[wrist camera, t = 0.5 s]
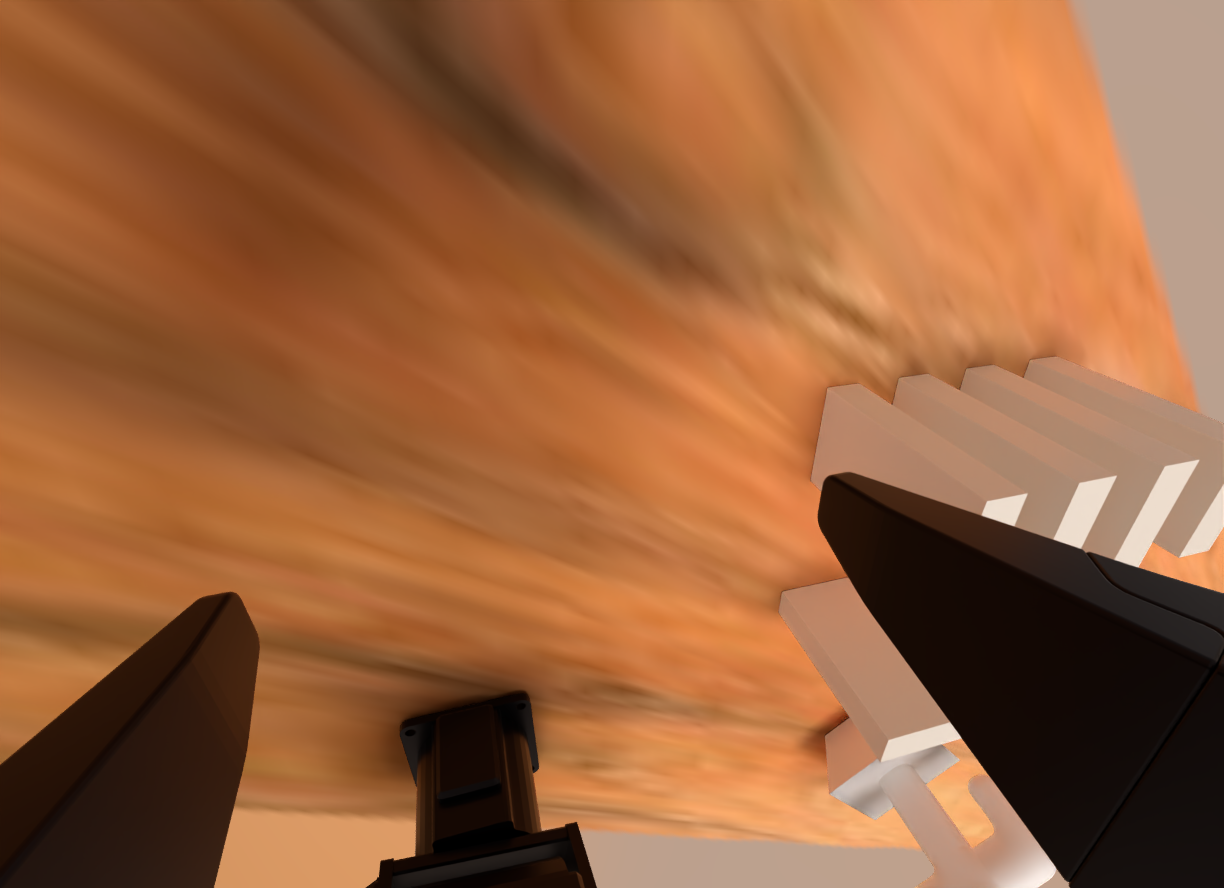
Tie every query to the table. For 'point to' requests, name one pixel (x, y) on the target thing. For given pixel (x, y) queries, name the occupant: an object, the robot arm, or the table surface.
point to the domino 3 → (1013, 458)
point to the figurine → (936, 814)
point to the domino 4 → (1096, 459)
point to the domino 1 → (906, 456)
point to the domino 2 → (864, 670)
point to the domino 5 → (1219, 479)
